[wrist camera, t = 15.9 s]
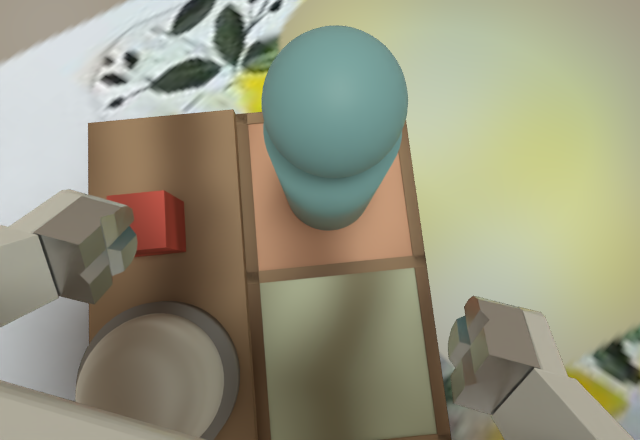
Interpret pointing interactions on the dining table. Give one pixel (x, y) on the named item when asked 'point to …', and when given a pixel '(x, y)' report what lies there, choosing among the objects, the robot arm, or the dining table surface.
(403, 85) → the pawn
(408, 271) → the game board
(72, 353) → the dining table surface
